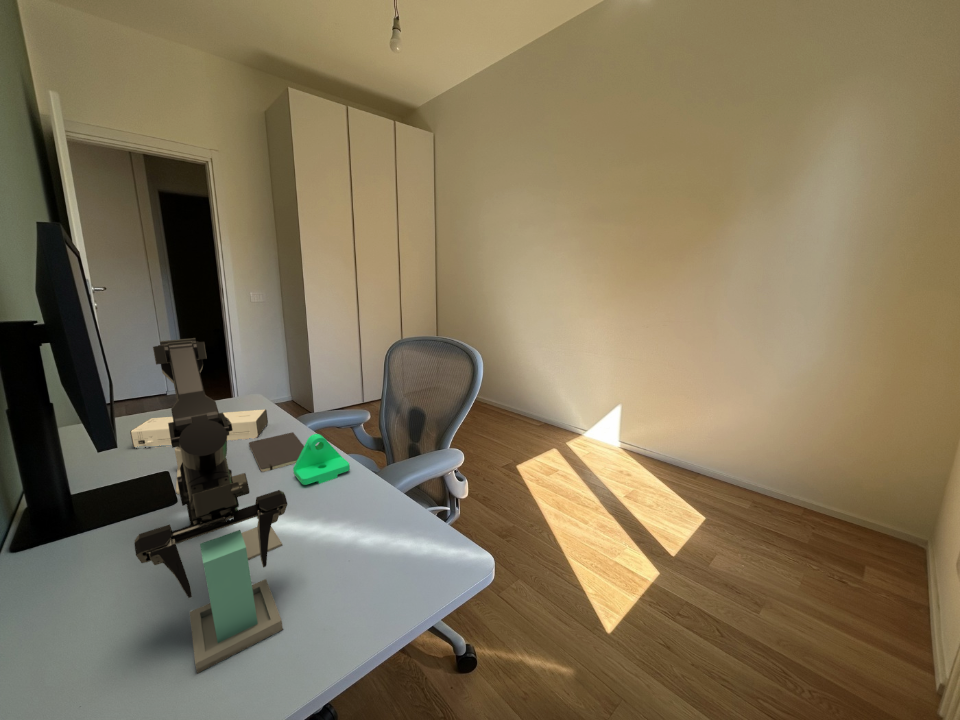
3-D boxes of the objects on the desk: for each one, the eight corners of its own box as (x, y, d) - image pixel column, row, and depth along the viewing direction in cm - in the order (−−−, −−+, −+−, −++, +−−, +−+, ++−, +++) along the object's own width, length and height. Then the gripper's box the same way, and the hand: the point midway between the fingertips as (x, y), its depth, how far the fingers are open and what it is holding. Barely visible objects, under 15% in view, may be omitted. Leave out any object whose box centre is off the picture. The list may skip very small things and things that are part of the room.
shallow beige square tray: (191, 620, 60) (189, 611, 60) (267, 586, 66) (266, 578, 66) (197, 673, 52) (195, 663, 52) (282, 629, 58) (281, 620, 58)
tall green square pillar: (213, 619, 59) (199, 543, 57) (251, 602, 62) (240, 529, 60) (217, 643, 56) (203, 563, 53) (257, 623, 59) (245, 547, 56)
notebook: (312, 460, 112) (293, 436, 128) (311, 455, 111) (293, 431, 128) (261, 474, 104) (248, 447, 121) (260, 469, 104) (248, 442, 120)
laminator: (268, 426, 137) (266, 409, 135) (258, 440, 125) (255, 421, 124) (154, 436, 129) (150, 418, 127) (131, 452, 117) (127, 432, 116)
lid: (228, 571, 71) (228, 566, 70) (219, 546, 77) (218, 541, 77) (282, 548, 76) (282, 543, 76) (269, 526, 83) (268, 522, 83)
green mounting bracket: (303, 489, 96) (299, 450, 94) (294, 477, 102) (290, 440, 100) (351, 473, 104) (348, 437, 102) (340, 463, 109) (337, 428, 107)
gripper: (121, 482, 52) (135, 608, 46) (277, 443, 63) (305, 540, 57) (135, 508, 59) (148, 618, 53) (272, 469, 71) (295, 557, 65)
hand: (229, 581), depth 57 cm, fingers open, 9 cm apart
